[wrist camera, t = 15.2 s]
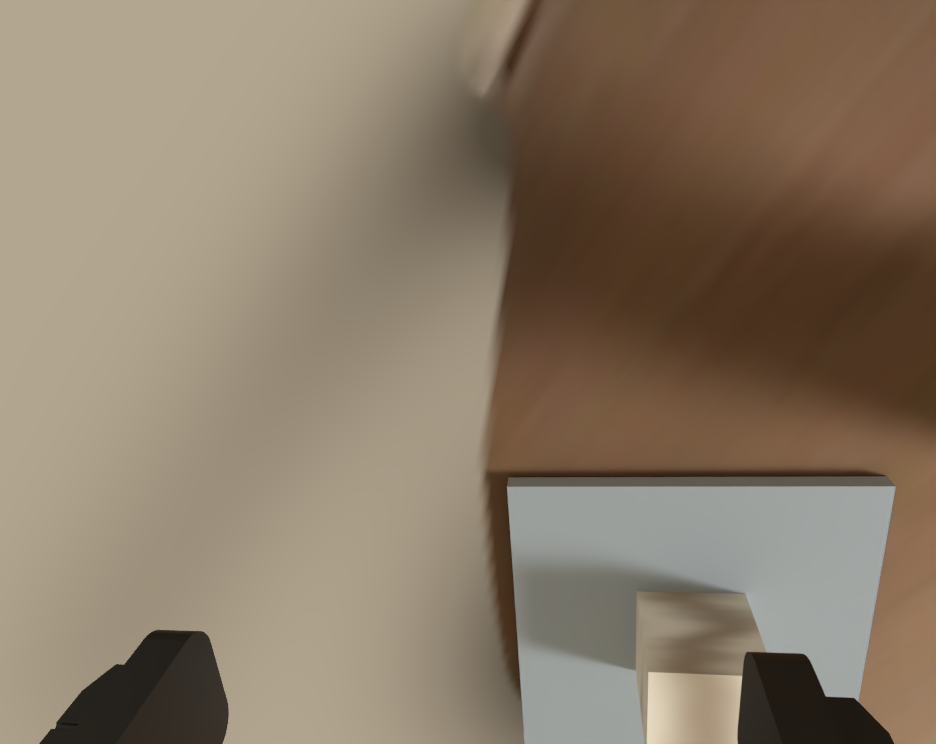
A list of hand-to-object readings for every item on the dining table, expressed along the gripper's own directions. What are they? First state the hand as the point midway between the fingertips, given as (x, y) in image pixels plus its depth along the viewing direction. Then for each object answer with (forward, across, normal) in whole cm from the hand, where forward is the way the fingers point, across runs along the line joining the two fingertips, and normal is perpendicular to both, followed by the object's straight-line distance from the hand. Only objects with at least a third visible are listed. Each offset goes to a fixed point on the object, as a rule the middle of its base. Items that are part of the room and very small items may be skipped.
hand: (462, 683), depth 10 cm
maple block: (+25, -8, +22) cm, 34 cm away
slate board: (+26, -8, +22) cm, 35 cm away
